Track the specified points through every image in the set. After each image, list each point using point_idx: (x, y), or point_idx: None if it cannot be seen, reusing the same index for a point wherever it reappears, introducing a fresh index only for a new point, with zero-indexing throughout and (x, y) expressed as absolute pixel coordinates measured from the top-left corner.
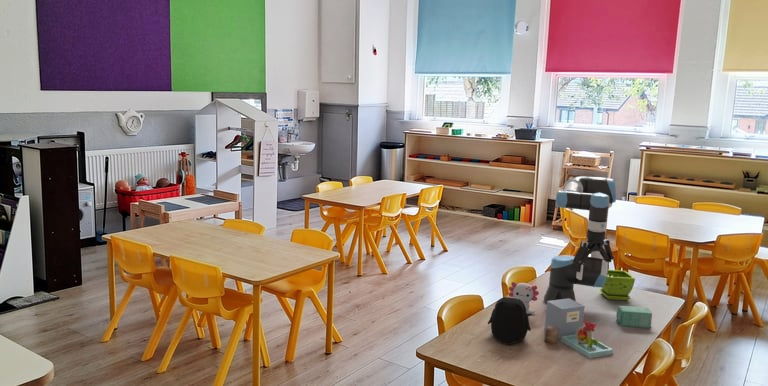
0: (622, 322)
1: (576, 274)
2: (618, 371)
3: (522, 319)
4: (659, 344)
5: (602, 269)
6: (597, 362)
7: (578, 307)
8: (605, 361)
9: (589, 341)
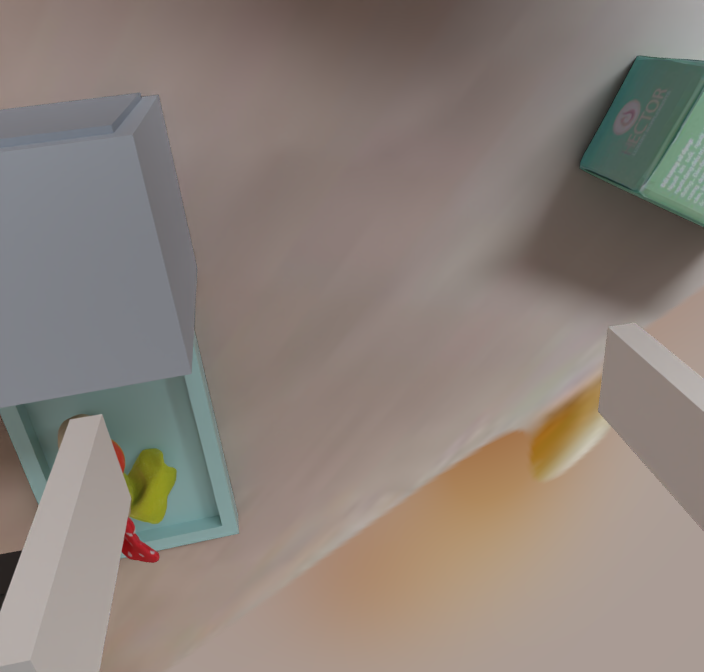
0: (597, 176)
1: (55, 460)
2: (155, 654)
3: None
4: (572, 432)
5: (661, 400)
6: None
7: (113, 384)
8: (147, 578)
9: None
